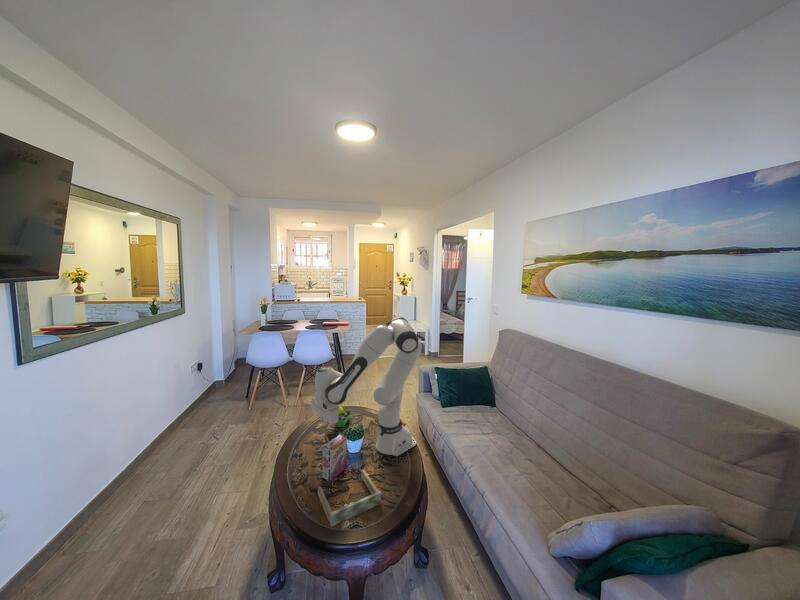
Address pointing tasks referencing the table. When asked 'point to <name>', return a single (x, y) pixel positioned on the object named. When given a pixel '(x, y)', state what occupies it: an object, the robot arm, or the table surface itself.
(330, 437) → the phone
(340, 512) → the dock
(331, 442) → the candy bar box
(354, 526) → the table surface
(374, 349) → the robot arm
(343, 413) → the fruit basket
